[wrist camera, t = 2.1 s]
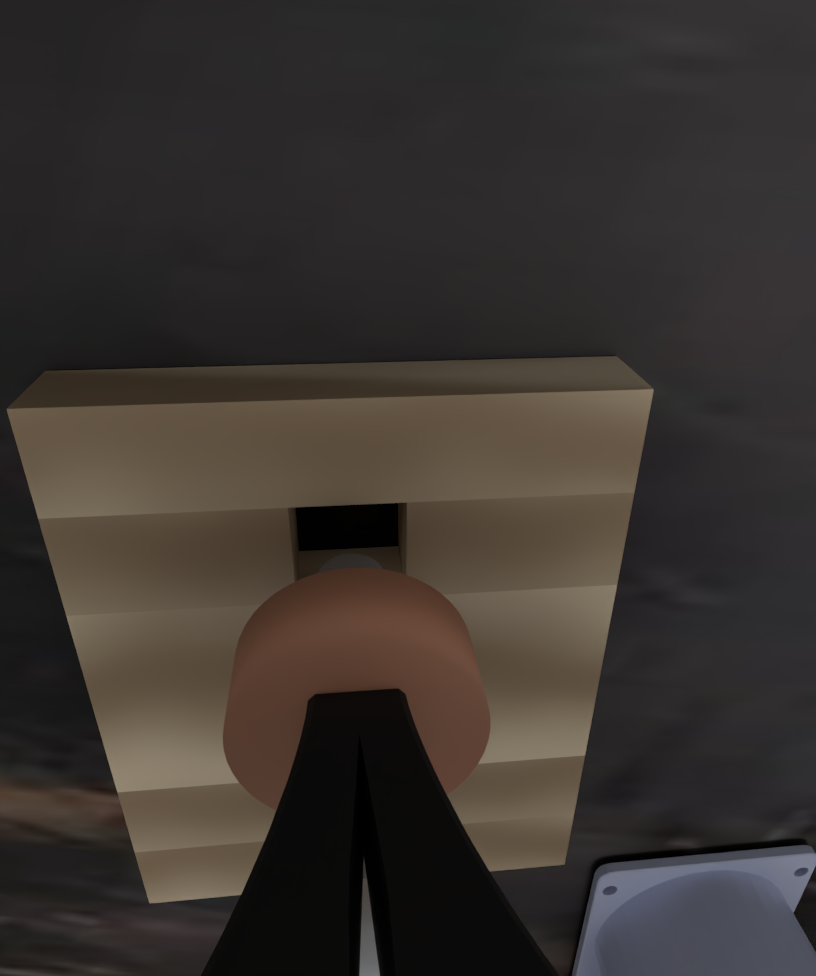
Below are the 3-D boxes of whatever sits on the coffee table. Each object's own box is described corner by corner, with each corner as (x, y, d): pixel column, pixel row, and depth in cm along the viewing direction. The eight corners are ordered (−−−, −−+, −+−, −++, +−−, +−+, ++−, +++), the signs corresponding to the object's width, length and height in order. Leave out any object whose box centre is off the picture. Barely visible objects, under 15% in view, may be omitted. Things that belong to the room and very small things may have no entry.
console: (546, 805, 23) (564, 864, 21) (163, 838, 22) (149, 903, 20) (616, 355, 15) (653, 389, 14) (45, 371, 14) (6, 409, 13)
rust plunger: (447, 653, 15) (483, 814, 12) (258, 665, 15) (238, 835, 11) (455, 490, 13) (500, 626, 10) (237, 499, 13) (205, 645, 9)
